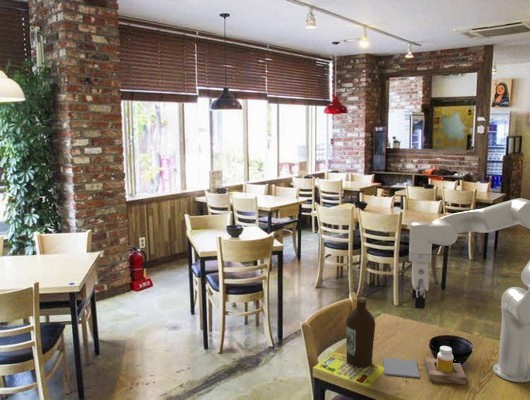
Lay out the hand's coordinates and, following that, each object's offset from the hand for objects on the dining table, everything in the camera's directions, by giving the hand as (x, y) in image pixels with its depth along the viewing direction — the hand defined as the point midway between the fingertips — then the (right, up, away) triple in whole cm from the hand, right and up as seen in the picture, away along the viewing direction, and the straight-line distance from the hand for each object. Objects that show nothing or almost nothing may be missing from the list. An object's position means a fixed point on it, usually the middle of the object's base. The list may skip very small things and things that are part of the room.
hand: (418, 303), depth 168 cm
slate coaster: (-5, -25, +3) cm, 25 cm away
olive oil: (-20, -24, +8) cm, 32 cm away
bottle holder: (+9, -25, -1) cm, 27 cm away
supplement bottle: (+9, -25, -1) cm, 27 cm away
